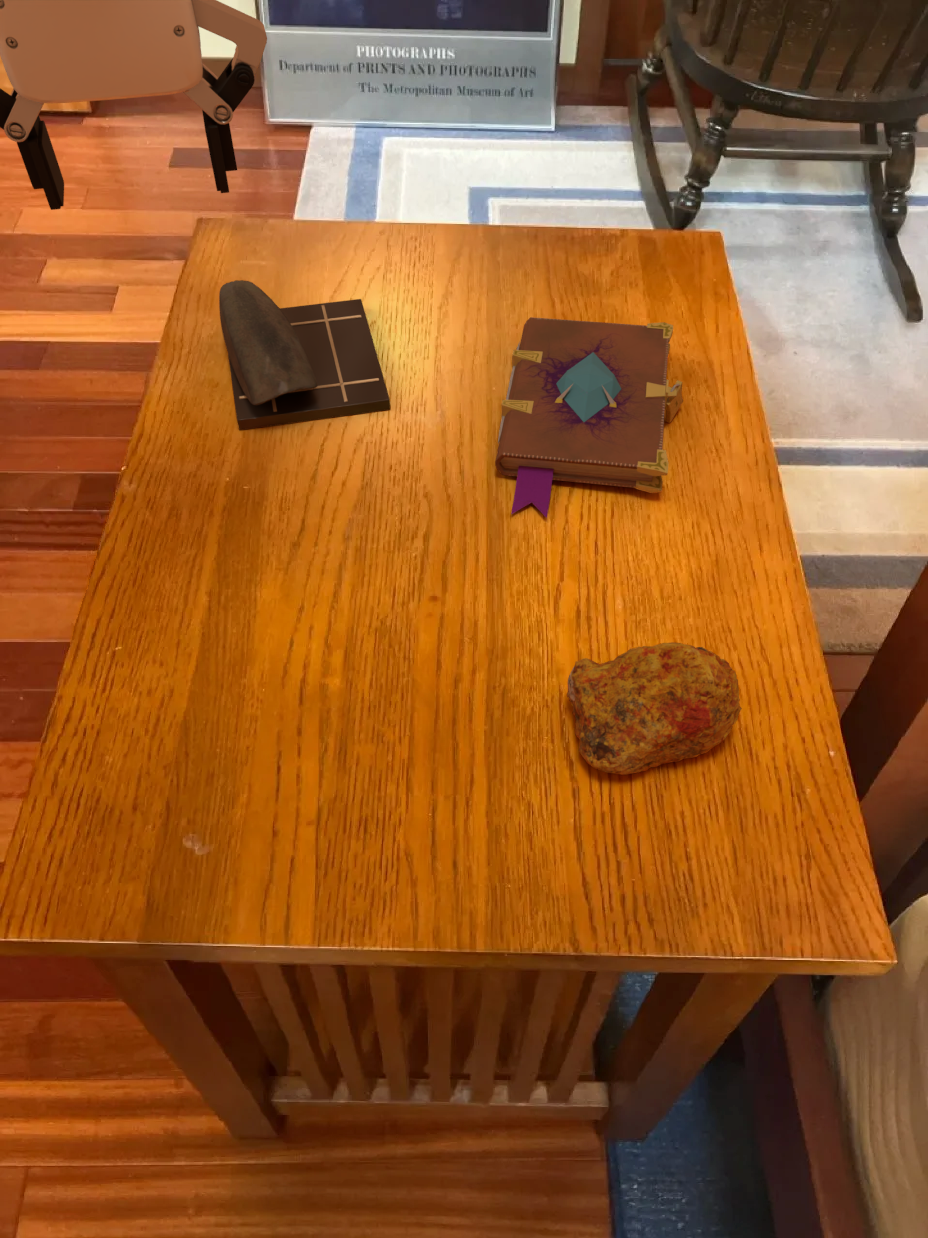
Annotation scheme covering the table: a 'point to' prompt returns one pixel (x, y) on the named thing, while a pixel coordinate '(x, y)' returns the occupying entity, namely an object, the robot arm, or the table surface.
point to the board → (324, 369)
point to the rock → (652, 706)
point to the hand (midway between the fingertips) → (141, 189)
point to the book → (586, 407)
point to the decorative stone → (262, 344)
